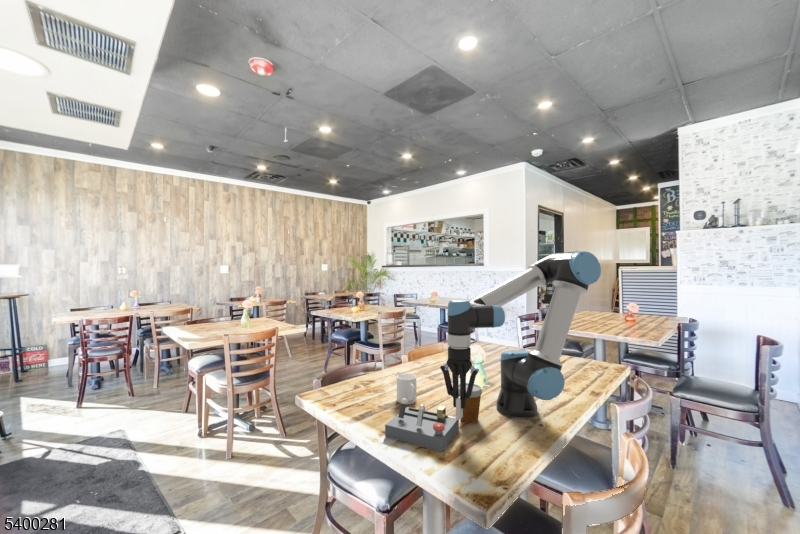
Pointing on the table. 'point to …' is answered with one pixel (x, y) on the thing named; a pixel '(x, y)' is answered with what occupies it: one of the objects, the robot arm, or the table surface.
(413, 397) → the mug
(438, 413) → the brass slider
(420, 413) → the steel lever
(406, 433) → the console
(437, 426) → the red button
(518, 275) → the robot arm
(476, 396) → the disposable coffee cup
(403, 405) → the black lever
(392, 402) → the table surface
